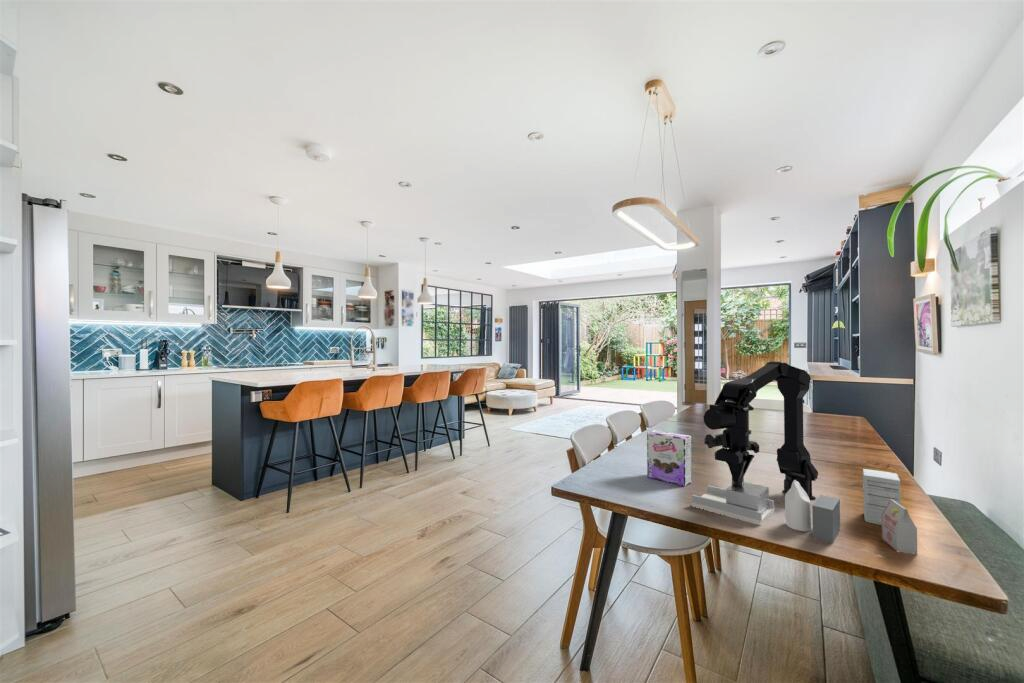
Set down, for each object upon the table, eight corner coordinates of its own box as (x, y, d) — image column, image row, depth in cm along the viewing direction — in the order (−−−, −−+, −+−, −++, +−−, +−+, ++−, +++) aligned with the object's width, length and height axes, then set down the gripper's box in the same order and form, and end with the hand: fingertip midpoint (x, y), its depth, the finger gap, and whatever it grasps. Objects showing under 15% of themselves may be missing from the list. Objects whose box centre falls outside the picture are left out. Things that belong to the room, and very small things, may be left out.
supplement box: (862, 512, 116) (862, 468, 116) (898, 519, 111) (898, 473, 111) (863, 521, 110) (863, 474, 110) (901, 529, 106) (901, 480, 106)
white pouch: (810, 486, 104) (784, 481, 107) (811, 533, 104) (784, 527, 107) (810, 479, 109) (784, 475, 112) (810, 524, 109) (785, 519, 112)
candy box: (646, 477, 148) (646, 431, 148) (654, 473, 152) (653, 429, 152) (685, 487, 138) (684, 437, 138) (692, 482, 142) (691, 435, 142)
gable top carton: (900, 541, 100) (900, 499, 100) (917, 554, 93) (916, 510, 93) (881, 538, 101) (881, 498, 101) (896, 552, 94) (896, 508, 94)
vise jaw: (726, 508, 116) (725, 471, 116) (738, 499, 123) (737, 463, 123) (758, 517, 110) (757, 477, 110) (768, 506, 117) (768, 469, 117)
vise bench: (691, 506, 121) (691, 479, 121) (708, 494, 130) (708, 469, 130) (831, 545, 97) (831, 511, 98) (841, 528, 106) (840, 497, 107)
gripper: (720, 418, 131) (720, 467, 130) (695, 427, 118) (695, 481, 118) (759, 423, 122) (760, 475, 122) (737, 433, 110) (738, 491, 110)
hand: (737, 480), depth 118 cm, fingers closed on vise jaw, 3 cm apart
